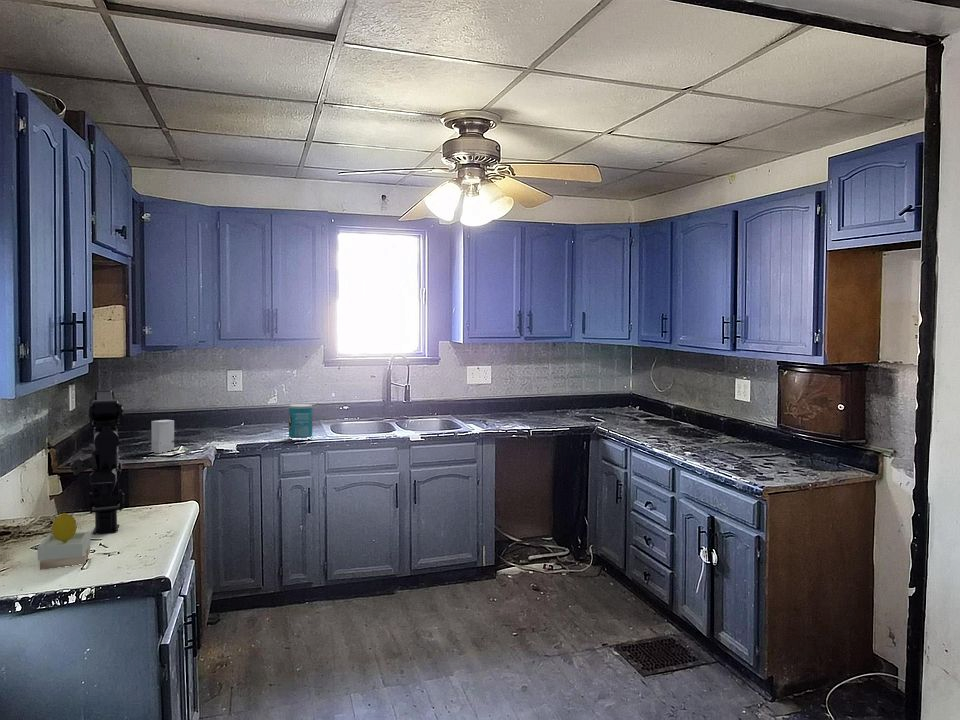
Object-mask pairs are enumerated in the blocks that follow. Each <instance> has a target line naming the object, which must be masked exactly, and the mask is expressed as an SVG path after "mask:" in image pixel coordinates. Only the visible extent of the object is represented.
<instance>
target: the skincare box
mask: <svg viewBox="0 0 960 720" xmlns="http://www.w3.org/2000/svg"><path fill="white" fill-rule="evenodd" d="M150 448H151V450H150V451H151V453H152V452H154V454H157V453H161V454H163V453H162V452H167V451H171V450H174V451H175V420H174V419H173V420H172V419H160V420H151V447H150ZM167 453H168V452H167Z"/></svg>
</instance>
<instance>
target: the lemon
mask: <svg viewBox="0 0 960 720" xmlns="http://www.w3.org/2000/svg"><path fill="white" fill-rule="evenodd" d="M51 524H52V525H51V534H53V536H54V538H55V539H57V540H59V541H62V542H63V543H66V542H67V541H68V540H69V539H71V538H72V537H73V536H74V535H75V533H77V529H78V528H77V527H78V526H77V521H76V519H75V518H74V516H73V515H72V514H69V513H66V512H62V513H61V514H59V515H58V516H56V517H55V518H54V520H53V522H52V523H51Z"/></svg>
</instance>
